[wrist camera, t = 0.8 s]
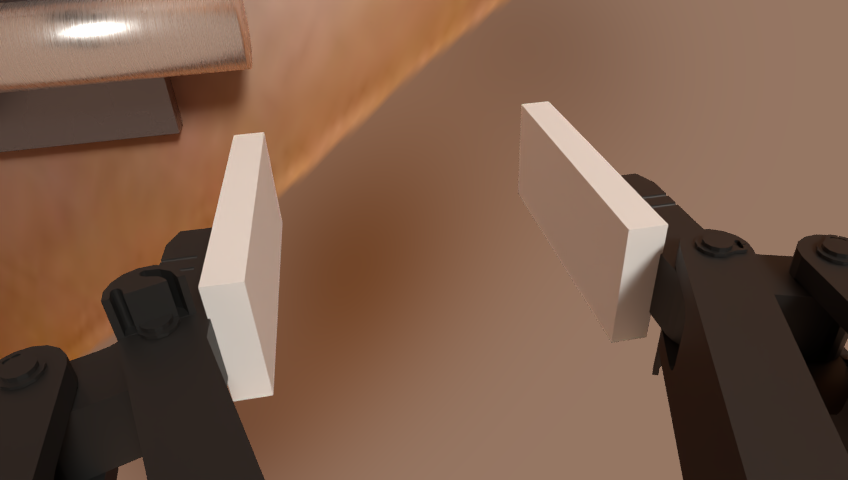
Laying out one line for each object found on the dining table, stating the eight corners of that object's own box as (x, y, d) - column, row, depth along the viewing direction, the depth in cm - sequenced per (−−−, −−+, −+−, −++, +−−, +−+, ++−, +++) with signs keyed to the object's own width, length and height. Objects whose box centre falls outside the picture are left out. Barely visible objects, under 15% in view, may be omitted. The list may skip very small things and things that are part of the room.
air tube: (-145, 95, 31) (-202, 127, 28) (-195, 7, 29) (-264, 30, 26) (254, 58, 34) (249, 83, 30) (238, -27, 31) (230, -10, 28)
